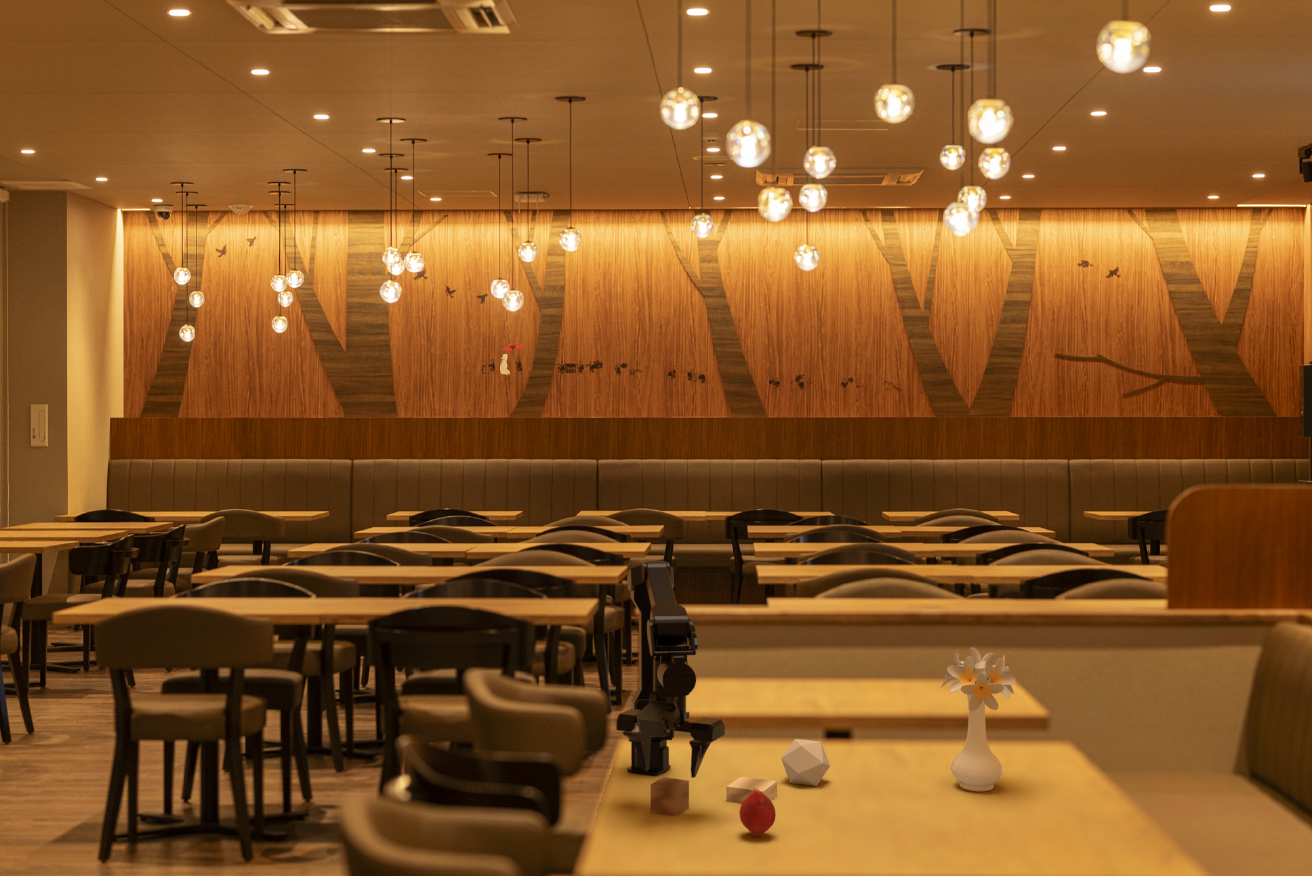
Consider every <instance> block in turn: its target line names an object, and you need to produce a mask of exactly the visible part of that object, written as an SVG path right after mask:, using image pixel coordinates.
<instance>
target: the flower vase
mask: <svg viewBox="0 0 1312 876" xmlns="http://www.w3.org/2000/svg"><path fill="white" fill-rule="evenodd" d="M969 652H970V655H968V656H966V657H965V659H964V660H960V652H958V653H957V652H955V654H954V656H953V659H952V665H949V666H947V667H946V668H947V669H946V670H947V671H946V672H945V674H944V676H943V677H944V678H945V681H944V682H943V683H942V685H941V686H940V688H943V687H944V686H946V685H947V684H948V683H950V682H951V681H952V683H951V684H950V685H949V687H948V690H949V692H950V693H957V692H958V691H961V692H962V693H963V694H965V695H966V696H967V702H968V703H967V704H968V723H967V735H966V740H965V743H964V746H963V748H962V749H961V751H960V752H958V753H957V754H956V755H955V756H954V758H953V759H952V762H951V763H950V772H951V774H952V775H953V777H954V778H955V779H956V780H957V781H959V783H958V784H959V787H960V788H961V789H964V790H967V791H969V792H978V793H979V792H980V793H981V792H988V791H992V790H993V789H994V787H995V783H997V782H998V781H999V780H1000V779H1001V777H1002V775H1003V773H1004V772H1003V766H1002V763H1001V762H1000V760H999V758H998V757H997V756H996V755H995V754H994V753H993V752H992V750H991V748H990V746H989V743H988V739H987V731H986V729H987V728H986V707H987V708H988V709H990V710H993V711H997V710H998V709H999V703H998V701H997V699H996V698H995V697H994V695H997V694H998V695H999V694H1000V693H1001V695H1003V696H1004V697H1005V698H1006V699H1010V698H1011V695H1013V694H1015V693H1014V689H1013V687H1012V685H1014V684H1016V682H1017V680H1016V677H1015V676H1014V675H1012V674H1011V673H1010V668H1009V666H1008V665H1007V666H1005V665H1006V657H1005V655H1003V656H1002V657H999V658H998V659H997V655H996V653H995V652H988V653H986V654H985V655H983V657H982V655H981V653H980V652H979V651H978V649H976V648H975V647H972V646H971V647H970V648H969ZM995 661H996V662H995ZM994 663H995V664H994ZM955 679H956V680H955ZM953 680H954V681H953Z"/></svg>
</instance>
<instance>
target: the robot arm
mask: <svg viewBox="0 0 1312 876" xmlns="http://www.w3.org/2000/svg"><path fill="white" fill-rule="evenodd" d="M674 575H675V574H674V567H673V566H671V565H670V562H669V561H668V562H667V561H666V560H647V561H645V562H642V563H641V564H639V565H636V566H633V567H631V568H629V570H628V572H627V591H629V592H630V599H631V600H632V602H633V604H634V605H635V607H636V609H637V611H638V658H639V659H638V664H639V665H638V667H639V668H638V672H639V673H638V676H639V677H638V678H639V679H638V681H639V683H638V684H639V685H638V688H637V689H636V692H635V693H634V694H633V696H632V698H631V701H630V703H631V704H630V709H627V710H625V711H622V712H621V713H619V714H618V715H617V716H616V719H615V730H616V731H619V732H621V731H622V735H623V736H624V737H626V738H627V740H628V742H629V743H630V747H631V750H630V756H631V757H630V759H631V761H630V764H631V765H630V767H628V768H627V769H626V770H627V772H629V773H631V772H632V773H637V774H642V775H643V774H644V775H650V776H658V775H660V774H662V773H664V772H665V771H668V770H669V769H671V764H670V747H669V746H668V745H667V743H668V741H673V739H674V738H675V737H674V736H675V732H680V733H681V732H682V733H689V734H690V737H691V738H692V739H691V740H690V741H688V742H689V743H688V744H689V745H690V746H689V747H690V748H691V755H690V756H691V757H690V758H691V759H690V776H691V778H692V779H694V778H696V776H697V774H698V772H699V769H700V767H701V764H702V762H703V760H704V757H705V755H706V753H707V751H708V749H709V747H710V746H711V743H713V742H715V741H717V740H718V739H719V738H722V737H723V736H725V735H726V734H725V731H726V730H725V729H726V726H725V724H724V722H723V720H722V719H720V718H714V717H713V718H712V717H705V716H704V717H701V718H699V719H697V720H695V721H691V720H690V721H688V719H690V711H687V696H689V695H690V694H691V693H692V692H693V690H694V689H695V687H696V685H697V684H696V683H697V675H696V672H695V671H694V669H693V667H692V666H691V665H690V664H689V663H688V656H696V655H697V652H696V651H697V650H698V647H699V643H698V639H697V638H698V637H697V632H696V626H695V624H694V623H693V619H691V618H689V614H688V612H687V609H686V608H685V606H682V605H681V604H679V603H677V600H676V596H675V591H674V587H675V577H674Z"/></svg>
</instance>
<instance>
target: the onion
mask: <svg viewBox="0 0 1312 876" xmlns="http://www.w3.org/2000/svg"><path fill="white" fill-rule="evenodd" d="M776 814H777V813H776V809H775V805H774V804H773V802H772V800H771V801H770V799H769V798H768V797H767V796H766V795H764V794H763V793H762V792H761V791H760V790H759V789H758V788H757V787H754V790H753V793H752V794H750V795H749V796H748V797H747V798H746V799H745V800H744V801H743V803H741V804H740V807H739V818H740V821H741V824H742V825H743V827H745V828H746V829H747V830H748V832H750V834H752V836H753V837H757V838H758V837H760V836H761V835H763V834H764V833H766V832H767V831H769V829H770V828H771V827H773V826H774V823H775V821H776Z"/></svg>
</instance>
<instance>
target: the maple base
mask: <svg viewBox="0 0 1312 876" xmlns="http://www.w3.org/2000/svg"><path fill="white" fill-rule="evenodd" d="M754 787H757V788H758V789H759V790H760V791H761V792H762V793H763V794H764V795H766V796H767V797H768V798H769V799H770V801H771V802H772V800H773V798H774V799H775V798H776V797H778V781H776V780H769V779H763V778H756V777H747V776H740V777H738V778H737V779H735V780H734V781H731V783H729V784H728V785H726V788H725V789H726V793H725V794H726V797H725V798H726V802H730V803H737V804H742V803H743V801H744V800H745V799H746V798H747V797H748V796H749V795H750V794H752V793H753V790H754Z"/></svg>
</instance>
